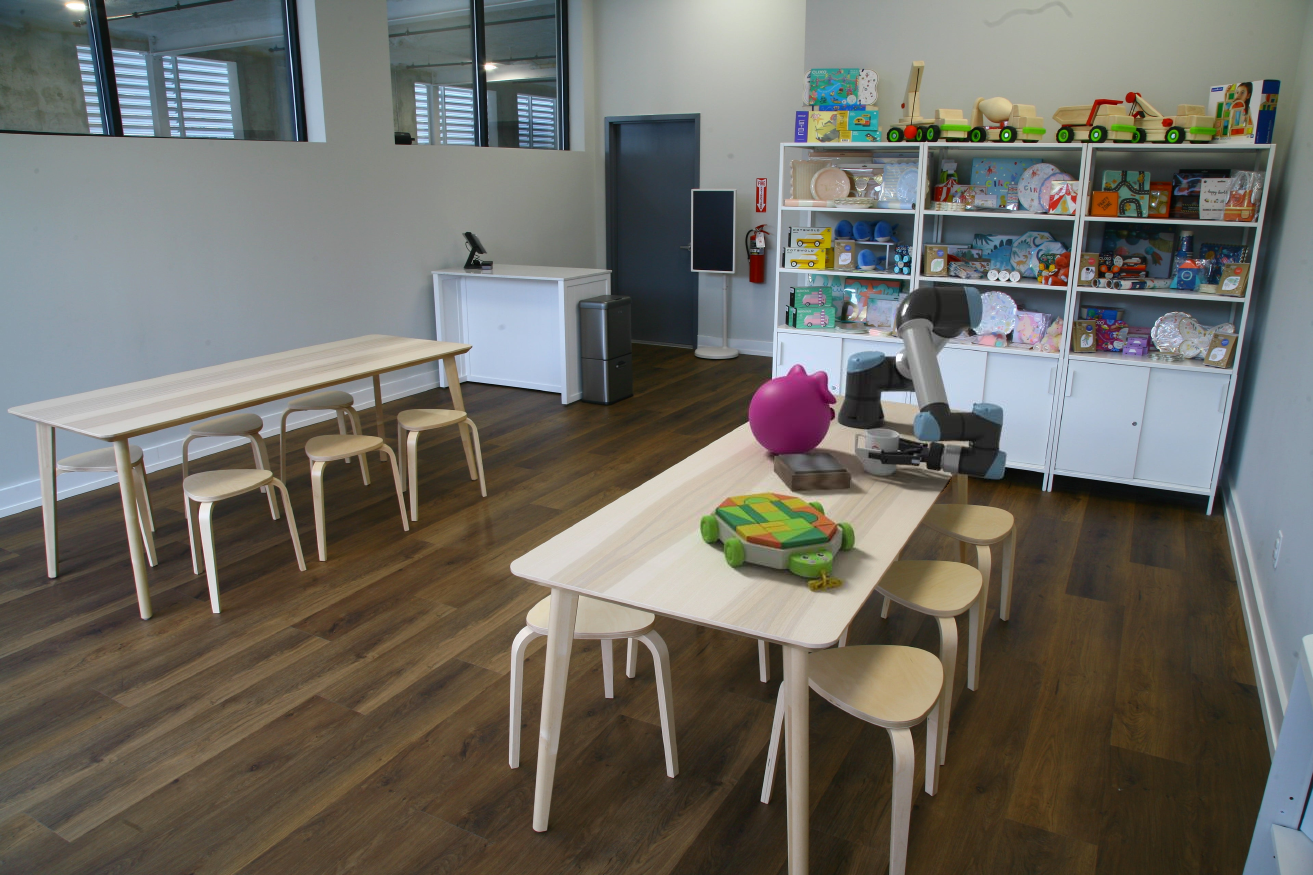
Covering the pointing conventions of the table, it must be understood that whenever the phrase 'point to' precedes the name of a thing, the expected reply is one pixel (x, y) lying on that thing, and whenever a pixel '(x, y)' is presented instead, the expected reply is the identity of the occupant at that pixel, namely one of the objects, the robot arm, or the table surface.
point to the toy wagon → (779, 535)
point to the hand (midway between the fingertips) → (862, 446)
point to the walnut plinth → (811, 472)
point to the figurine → (792, 412)
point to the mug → (879, 441)
